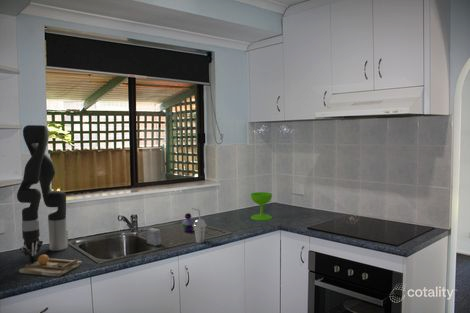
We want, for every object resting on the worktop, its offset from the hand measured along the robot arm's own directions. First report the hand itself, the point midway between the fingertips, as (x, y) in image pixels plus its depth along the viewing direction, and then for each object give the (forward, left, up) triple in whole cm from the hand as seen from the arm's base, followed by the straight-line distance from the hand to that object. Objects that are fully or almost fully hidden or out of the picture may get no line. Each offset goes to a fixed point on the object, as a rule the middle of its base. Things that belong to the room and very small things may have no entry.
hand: (32, 262), depth 194 cm
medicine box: (-48, +42, -2) cm, 64 cm away
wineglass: (-126, +92, -2) cm, 156 cm away
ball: (0, +6, +2) cm, 7 cm away
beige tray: (0, +11, -2) cm, 11 cm away
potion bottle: (-78, +52, -2) cm, 94 cm away
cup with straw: (-58, +67, -2) cm, 89 cm away
